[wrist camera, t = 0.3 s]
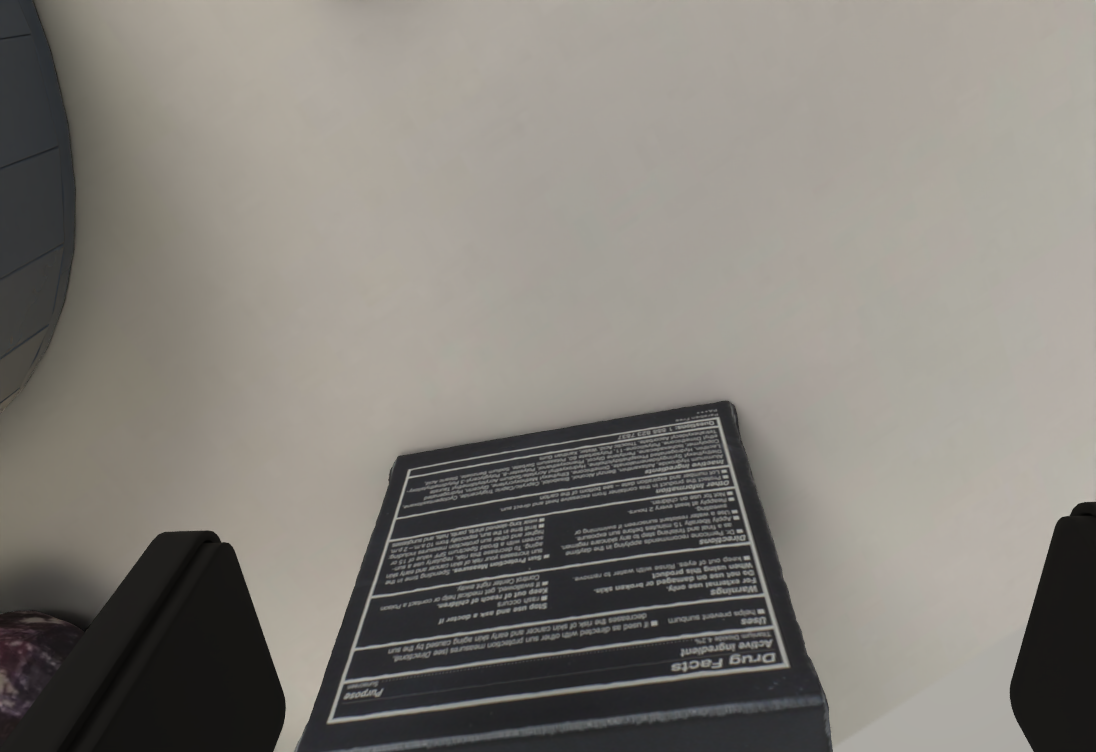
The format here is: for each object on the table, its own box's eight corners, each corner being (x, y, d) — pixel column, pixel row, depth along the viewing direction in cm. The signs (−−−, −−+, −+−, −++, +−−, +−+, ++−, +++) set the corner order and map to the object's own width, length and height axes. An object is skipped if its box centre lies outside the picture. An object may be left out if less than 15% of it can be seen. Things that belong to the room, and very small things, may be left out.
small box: (449, 605, 28) (377, 939, 18) (389, 451, 25) (268, 757, 15) (759, 562, 26) (851, 904, 17) (735, 392, 23) (832, 693, 14)
